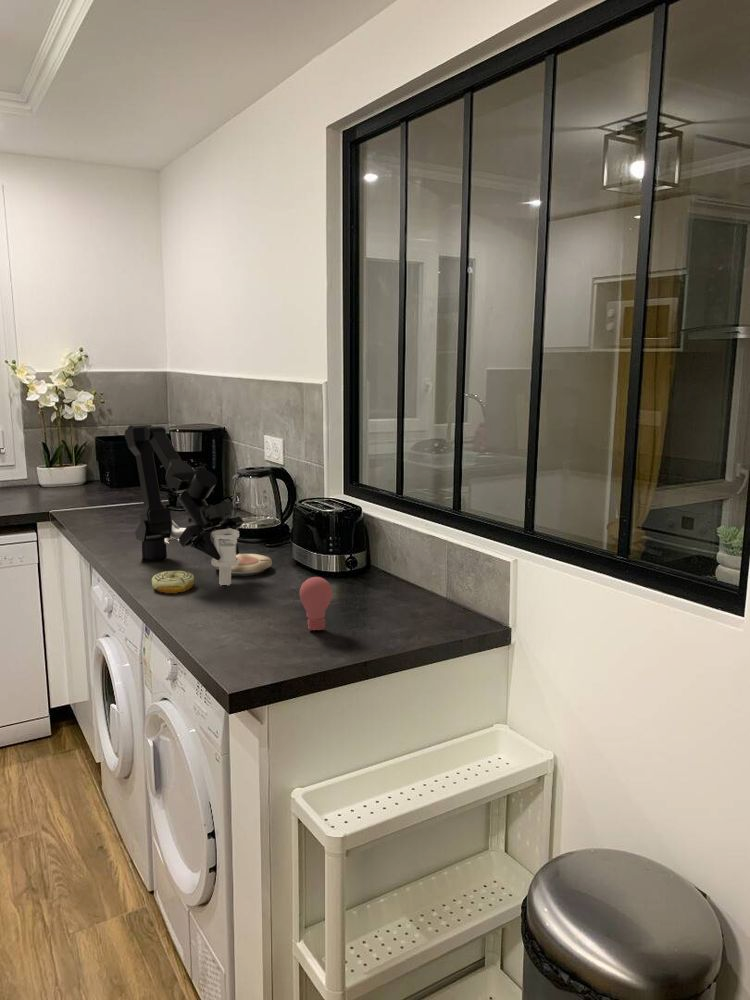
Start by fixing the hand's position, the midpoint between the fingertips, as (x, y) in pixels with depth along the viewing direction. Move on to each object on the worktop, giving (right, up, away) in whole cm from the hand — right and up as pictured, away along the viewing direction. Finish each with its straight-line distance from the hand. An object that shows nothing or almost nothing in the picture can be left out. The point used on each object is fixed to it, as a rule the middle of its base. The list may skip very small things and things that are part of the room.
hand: (228, 556), depth 193 cm
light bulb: (+25, -14, -29) cm, 41 cm away
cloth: (-29, +2, +53) cm, 60 cm away
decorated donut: (-14, -8, -2) cm, 16 cm away
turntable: (+1, -3, +15) cm, 16 cm away
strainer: (-1, -8, +2) cm, 8 cm away
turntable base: (+1, -5, +16) cm, 16 cm away
